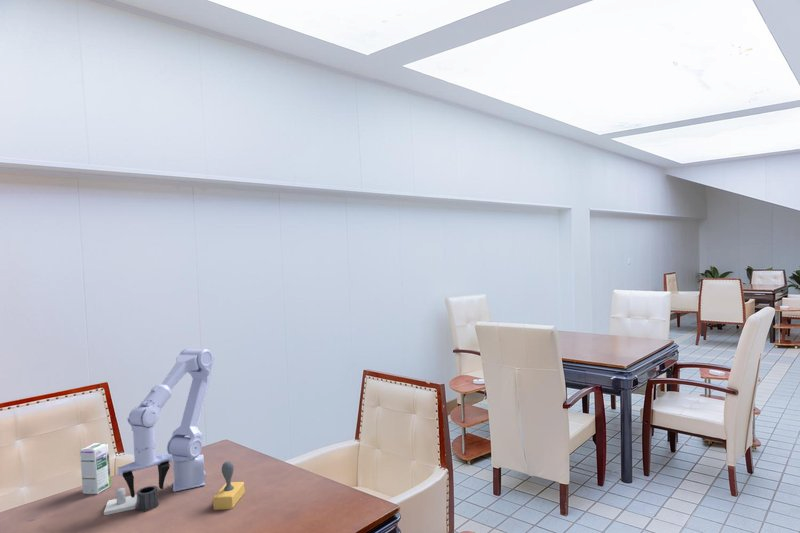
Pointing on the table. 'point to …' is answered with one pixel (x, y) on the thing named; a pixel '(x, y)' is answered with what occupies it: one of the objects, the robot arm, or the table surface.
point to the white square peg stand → (120, 503)
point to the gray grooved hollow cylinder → (147, 498)
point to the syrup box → (95, 468)
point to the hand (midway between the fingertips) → (147, 492)
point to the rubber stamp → (228, 490)
